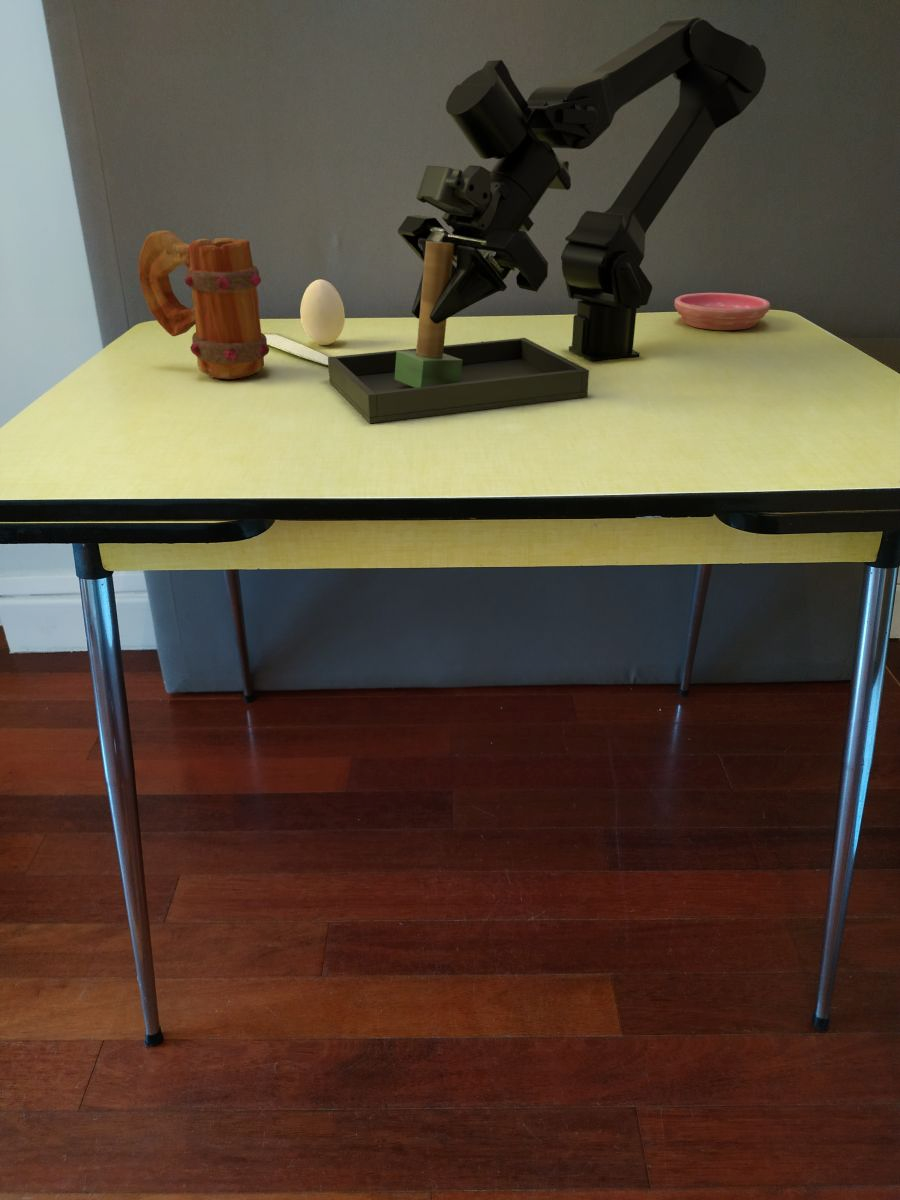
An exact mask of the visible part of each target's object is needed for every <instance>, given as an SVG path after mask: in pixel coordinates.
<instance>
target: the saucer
mask: <svg viewBox="0 0 900 1200" xmlns="http://www.w3.org/2000/svg"><path fill="white" fill-rule="evenodd" d="M770 307H771V303H770V302H769V301H768V299H765V298H762V297H758V296H754V295H748V294H741V293H731V292H729V293H728V292H698V293H697V292H696V293H688V294H682V295H679V296H678V297H676V298H675V299H674V309H676V312H677V314H678V315H679V316H680V317H681V319H682V320H683V322H684V324H686V325H688V326H690V327H692V328H693V327H694V328H698V329H703V330H704V329H705V330H714V331H739V330H747V329H751V328H753V327H754V326H756V324H757V323H758V321H759V320H762V319H763V318H764V317H765V315H766V314H768V312H769V311H770Z"/></svg>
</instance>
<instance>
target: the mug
mask: <svg viewBox="0 0 900 1200" xmlns="http://www.w3.org/2000/svg"><path fill="white" fill-rule="evenodd" d="M181 265H182V266H186V267H187V268H186V270H185V278H184V282H185V285H187V286H188V288H190V289H191V295H192V303H193V307H187V306H185V305H183V304H182V303H181V302H180V301H179V299H178V298H177V296H176V295H175V294H174V293H175V292H174V290H173V287H172V284H171V281H170V276H169V275H170V274H171V273H172V272H173V271H175V270H176V269H177V268H179V267H180V266H181ZM137 266H138V279H139V284H140V287H141V291H142V295H143V297H144V299H145V303H146V304H147V307H148V309H149V311H150V313H151V314H152V315H153V317H154V319H155V320H156V321H157V322H158V324H159V325H160V326H161V327H162V328H163V329H164V330H165V331H166V333H168V334H169V335H170V336H171V337H177V336H180V335H183V334H186V333H187V332H189V331H190V330H191V329H192V328H193V327H194V326H195V332H194V333H193V334H192V337H191V341H192V343H191V345H190V347H189V348H190V351H191V353H192V354H193V355H195V357H196V358H197V359H196V360H197V367H198V369H199V370H200V371H201V372H202V373H203V374H205V375H208V376H209V377H212V378H213V379H220V380H221V379H224V380H236V379H242V378H247V377H249V376H252V375H254V374H256V373H258V372H259V371H261V370H262V369H263V368H264V366H265V357H266V356H267V355H268V354H269V352H270V346H269V345H268V344H267V338H266V336H265V335H264V334H262V333H261V331H262V327H261V319H260V308H259V307H260V306H259V304H260V303H259V293H258V290H257V289H258V288H257V287H258V286H259V285H260V284H261V282H262V279H261V277H260V270H259V269H258V267H257V266H255V265H254V263H253V257H252V252H251V245H250V241H249V240H247V239H246V238H241V239H235V238H231V237H216V238H215V239H214V240H210V239H209V238H200V239H195V240H193V241H191V243H189V244H188V243H185V242H184V241H183V240H181V239H180V238H179V237H178V236H177V235H175V233H174V232H173V231H170V230H168V229H164V230H157V231H153V232H151V233H149V234H148V235H147V236H146V239H145V241H144V242H143V244H142V247H141V249H140V253H139V258H138V263H137Z"/></svg>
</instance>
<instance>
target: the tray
mask: <svg viewBox="0 0 900 1200" xmlns="http://www.w3.org/2000/svg"><path fill="white" fill-rule="evenodd" d="M416 350H417V347H416V348H407V349H396V350H386V351H377V352H375V351H374V352H366V353H357V354H346V355H335V356H327V357H328V365H327V366H328V381H329V383H330V384H331V386H332V387H334V389H335V390H336V391H338V392H339V394H340V395H341V396H342V397H343V398H344V399H345V400H346V401H347V402H348V403H349V404H350V405H351V406H352V407H353V409H355V410H356V411H357V413H358V414H360V415H361V416H362V418H364V419H365V420H366V422H367V423H368V424H378V423H379V424H380V423H385V422H386V423H387V422H395V421H402V420H410V419H420V418H426V417H427V418H428V417H434V416H444V415H449V414H458V413H467V412H475V411H482V410H491V409H499V408H507V407H516V406H522V405H523V406H524V405H532V404H538V403H539V404H540V403H547V402H556V401H564V400H571V399H579V398H581V399H582V398H587V397H588V391H589V380H590V379H589V377H590V369H587V368H585V367H583V366H581V365H580V364H578V363H576V362H574V361H571V360H569V359H568V358H565V357H563V356H562V355H560V354H558V353H556V352H554V351H552V350H550V349H548V348H546V347H544V346H542V345H540V344H538V343H536V342H534V341H532V340H530V339H528V338H526V337H519V338H509V339H508V338H507V339H499V340H489V341H478V342H466V343H457V344H456V343H455V344H447V345H444V351H443V353H444V354H447V355H450V356H453V357H456V358H459V359H462V360H463V361H462V370H461V379H460V383H452V384H443V385H434V386H425V387H416V388H414V387H412V386H409V385H407V384H404V383H402V382H399V381H397V380H395V379H394V377H395V365H396V352H397V351H416Z"/></svg>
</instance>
